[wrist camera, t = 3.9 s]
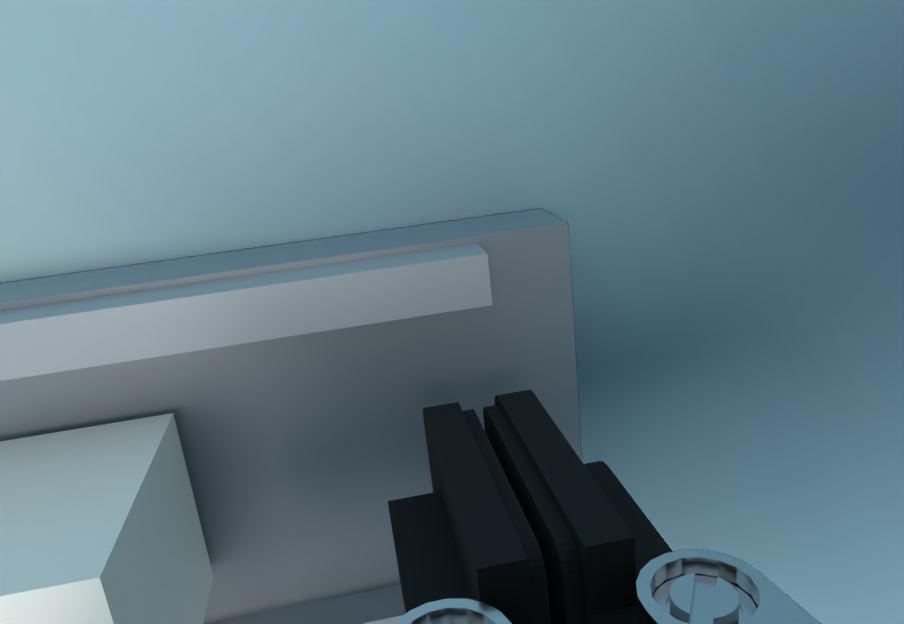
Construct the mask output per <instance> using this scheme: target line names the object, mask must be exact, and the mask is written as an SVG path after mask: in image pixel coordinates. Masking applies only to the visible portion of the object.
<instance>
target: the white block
mask: <svg viewBox="0 0 904 624" xmlns="http://www.w3.org/2000/svg"><path fill="white" fill-rule="evenodd" d="M212 582H213V573H212V568H211V564H210V560H209V556H208V552H207V548H206V544H205V540H204V536H203V532H202V528H201V524H200V520H199V516H198V512H197V508H196V504H195V499H194V495H193V491H192V487H191V483H190V479H189V475H188V471H187V467H186V463H185V459H184V455H183V451H182V447H181V443H180V439H179V435H178V430H177V426H176V422H175V418H174V414H173V413H171V414H165V415H159V416H153V417H147V418H140V419H134V420H128V421H122V422H116V423H110V424H104V425H98V426H92V427H86V428H79V429H73V430H67V431H61V432H55V433H49V434H43V435H37V436H31V437H24V438H18V439H12V440H6V441H0V624H203V623H204V618H205V614H206V609H207V605H208V600H209V595H210V591H211V586H212Z"/></svg>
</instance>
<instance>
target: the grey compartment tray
mask: <svg viewBox="0 0 904 624" xmlns="http://www.w3.org/2000/svg"><path fill="white" fill-rule="evenodd" d="M530 389H531V390H532V391H533V392H534V394H535V395H536V397H537V398H538V400H539V401H540V403H541V404H542V405H543V407H544V408H545V410H546V411H547V413H548V414H549V415H550V417H551V418H552V420H553V421H554V423H555V424H556V425H557V427H558V428H559V430H560V431H561V433H562V434H563V435H564V437H565V438H566V440H567V441H568V443H569V444H570V445H571V447H572V448H573V450H574V451H575V453H576V454H577V455H578V457H579V458H580V460H581V461H582V454H581V437H580V420H579V402H578V385H577V368H576V351H575V334H574V316H573V299H572V282H571V265H570V248H569V230H568V223H567V222H565V221H563V220H561V219H560V218H558V217H556V216H554V215H553V214H551V213H549V212H547V211H546V210H544V209H542V208H540V209H533V210H526V211H519V212H512V213H504V214H497V215H490V216H483V217H475V218H468V219H461V220H454V221H446V222H439V223H432V224H425V225H418V226H410V227H403V228H396V229H389V230H381V231H374V232H367V233H360V234H352V235H345V236H338V237H331V238H324V239H316V240H309V241H302V242H295V243H287V244H280V245H273V246H266V247H258V248H251V249H244V250H237V251H230V252H222V253H215V254H208V255H201V256H193V257H186V258H179V259H172V260H164V261H157V262H150V263H143V264H136V265H128V266H121V267H114V268H107V269H99V270H92V271H85V272H78V273H70V274H63V275H56V276H49V277H42V278H34V279H27V280H20V281H13V282H5V283H0V441H6V440H12V439H18V438H24V437H31V436H37V435H43V434H49V433H55V432H61V431H67V430H73V429H79V428H86V427H92V426H98V425H104V424H110V423H116V422H122V421H128V420H134V419H140V418H147V417H153V416H159V415H165V414H171V413H173V414H174V418H175V422H176V426H177V430H178V435H179V439H180V443H181V447H182V451H183V455H184V459H185V463H186V467H187V471H188V475H189V479H190V483H191V487H192V491H193V495H194V499H195V504H196V508H197V512H198V516H199V520H200V524H201V528H202V532H203V536H204V540H205V544H206V548H207V552H208V556H209V560H210V564H211V568H212V573H213V582H212V586H211V591H210V595H209V600H208V605H207V609H206V614H205V618H204V623H203V624H394V622H396V621H397V620H398V619H400V618H401V617H402V616H403V615H405V608H404V602H403V596H402V590H401V584H400V578H399V571H398V565H397V559H396V552H395V546H394V539H393V533H392V526H391V520H390V513H389V507H388V501H390V500H396V499H401V498H406V497H412V496H417V495H422V494H428V493H433V487H432V480H431V472H430V465H429V457H428V450H427V442H426V434H425V427H424V419H423V408H426V407H432V406H437V405H443V404H449V403H455V402H459V404H460V406H461V408H462V411H464V410H469V409H474V410H475V412H476V414H477V416H478V418H479V420H480V423H481V425H482V427H483V429H484V431H485V427H484V417H483V408H484V407H487V406H492V405H494V400H495V396H496V395H501V394H507V393H513V392H518V391H524V390H530Z"/></svg>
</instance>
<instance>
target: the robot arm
mask: <svg viewBox="0 0 904 624" xmlns="http://www.w3.org/2000/svg"><path fill="white" fill-rule="evenodd" d="M483 417H484V427H485V431H484V429H483V427H482V425H481V423H480V420H479V418H478V416H477V414H476V412H475V410H474V409H469V410H464V411H462V408H461V406H460V404H459V402H455V403H449V404H443V405H437V406H432V407H426V408H423V419H424V427H425V434H426V442H427V450H428V457H429V465H430V472H431V480H432V487H433V493H428V494H422V495H417V496H412V497H406V498H401V499H396V500H390V501H388V507H389V513H390V520H391V526H392V533H393V539H394V546H395V552H396V559H397V565H398V571H399V578H400V584H401V590H402V596H403V602H404V608H405V615H403V616H402V617H401V618H400V619H398V620H397V621H396V622H394V624H821V623H820V622H819V621H818V620H817V619H815V618H814V617H813V616H812V615H811V614H809V613H808V612H807V611H806V610H805V609H804V608H802V607H801V606H800V605H799V604H798V603H796V602H795V601H794V600H793V599H792V598H790V597H789V596H788V595H787V594H786V593H784V592H783V591H782V590H781V589H780V588H779V587H777V586H776V585H775V584H774V583H773V582H771V581H770V580H769V579H768V578H767V577H765V576H764V575H763V574H762V573H761V572H760V571H758V570H757V569H755V568H754V567H752V566H750V565H749V564H747V563H746V562H744V561H743V560H740V559H738V558H735V557H732V556H730V555H727V554H725V553H720V552H715V551H709V550H704V549H683V550H678V551H672V550H671V549H670V547H669V546H668V545H667V543H666V542H665V541H664V539H663V538H662V537H661V536H660V534H659V533H658V532H657V530H656V529H655V528H654V526H653V525H652V524H651V522H650V521H649V520H648V518H647V517H646V516H645V514H644V513H643V512H642V510H641V509H640V508H639V507H638V505H637V504H636V503H635V501H634V500H633V499H632V497H631V496H630V495H629V493H628V492H627V491H626V489H625V488H624V487H623V485H622V484H621V483H620V482H619V480H618V479H617V478H616V476H615V475H614V474H613V472H612V471H611V470H610V468H609V467H608V466H607V465H606V464H605V463H604V462H602V461H597V462H592V463H587V464H583V463H582V461H581V460H580V458H579V457H578V455H577V454H576V453H575V451H574V450H573V448H572V447H571V445H570V444H569V443H568V441H567V440H566V438H565V437H564V435H563V434H562V433H561V431H560V430H559V428H558V427H557V425H556V424H555V423H554V421H553V420H552V418H551V417H550V415H549V414H548V413H547V411H546V410H545V408H544V407H543V405H542V404H541V403H540V401H539V400H538V398H537V397H536V395H535V394H534V392H533V391H532V390H531V389H530V390H524V391H518V392H513V393H507V394H501V395H496V396H495V400H494V405H492V406H487V407H484V408H483Z"/></svg>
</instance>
